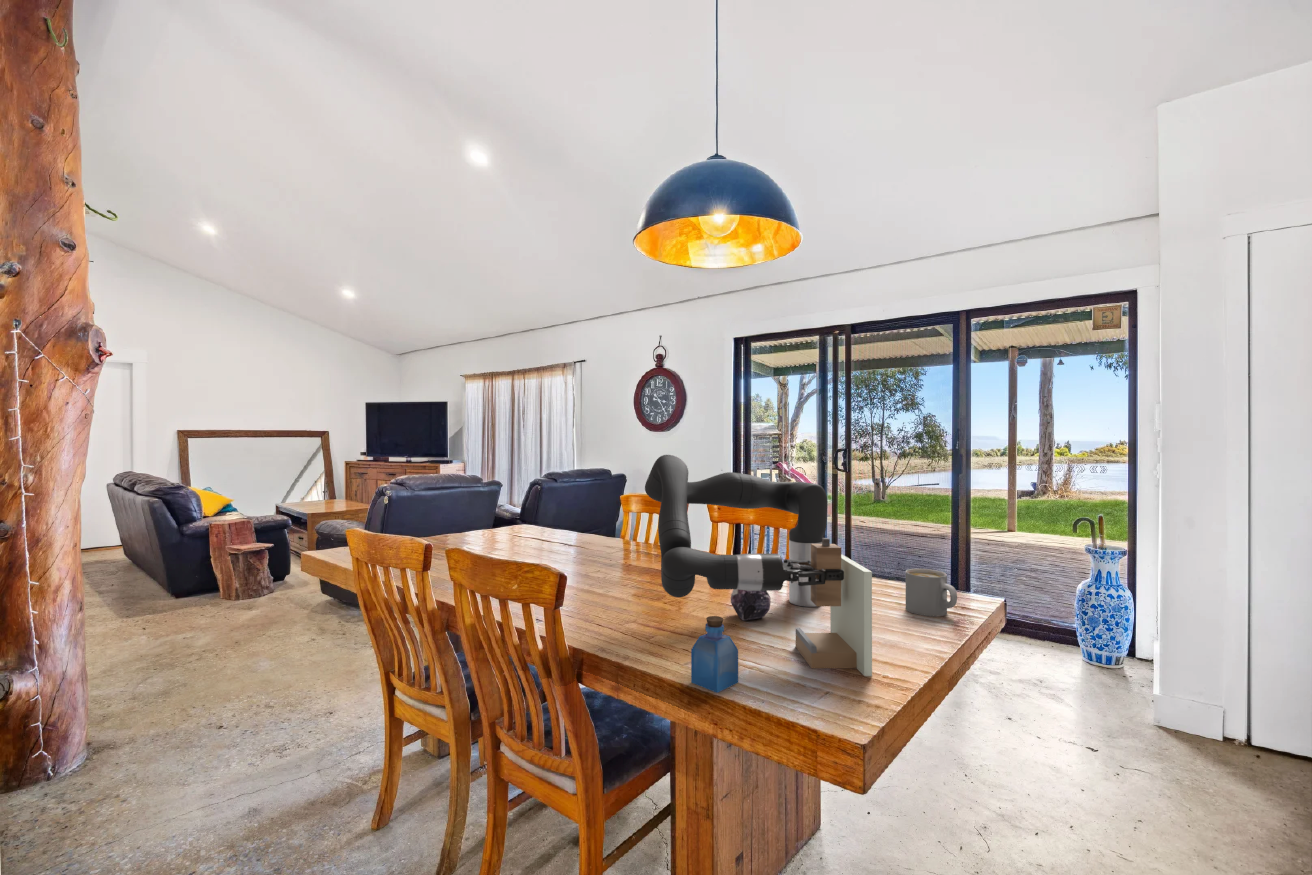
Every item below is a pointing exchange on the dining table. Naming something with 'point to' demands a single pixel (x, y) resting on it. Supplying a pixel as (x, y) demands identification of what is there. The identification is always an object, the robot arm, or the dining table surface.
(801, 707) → the dining table surface
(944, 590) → the coffee mug
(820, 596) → the knob board
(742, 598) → the mineral specimen
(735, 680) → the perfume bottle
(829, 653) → the cleat board
